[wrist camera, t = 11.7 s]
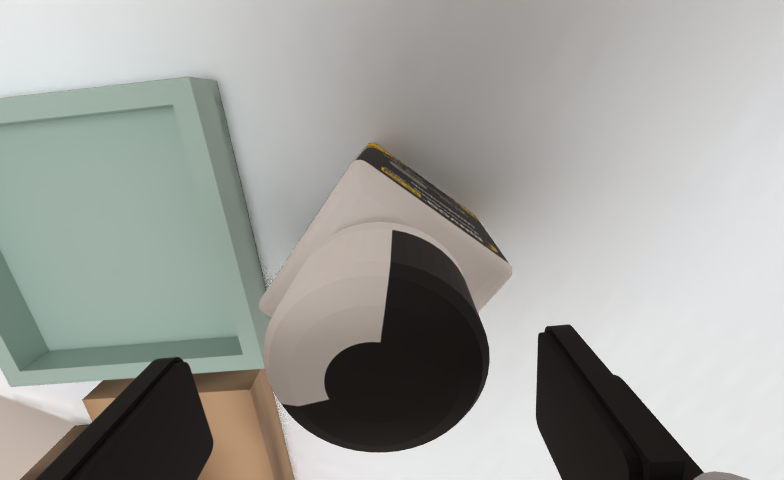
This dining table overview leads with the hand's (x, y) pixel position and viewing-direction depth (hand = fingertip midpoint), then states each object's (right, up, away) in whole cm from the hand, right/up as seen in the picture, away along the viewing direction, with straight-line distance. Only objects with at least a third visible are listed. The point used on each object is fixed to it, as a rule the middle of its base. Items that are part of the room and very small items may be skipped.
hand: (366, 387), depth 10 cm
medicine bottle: (0, +4, +11) cm, 12 cm away
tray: (-15, +4, +11) cm, 19 cm away
